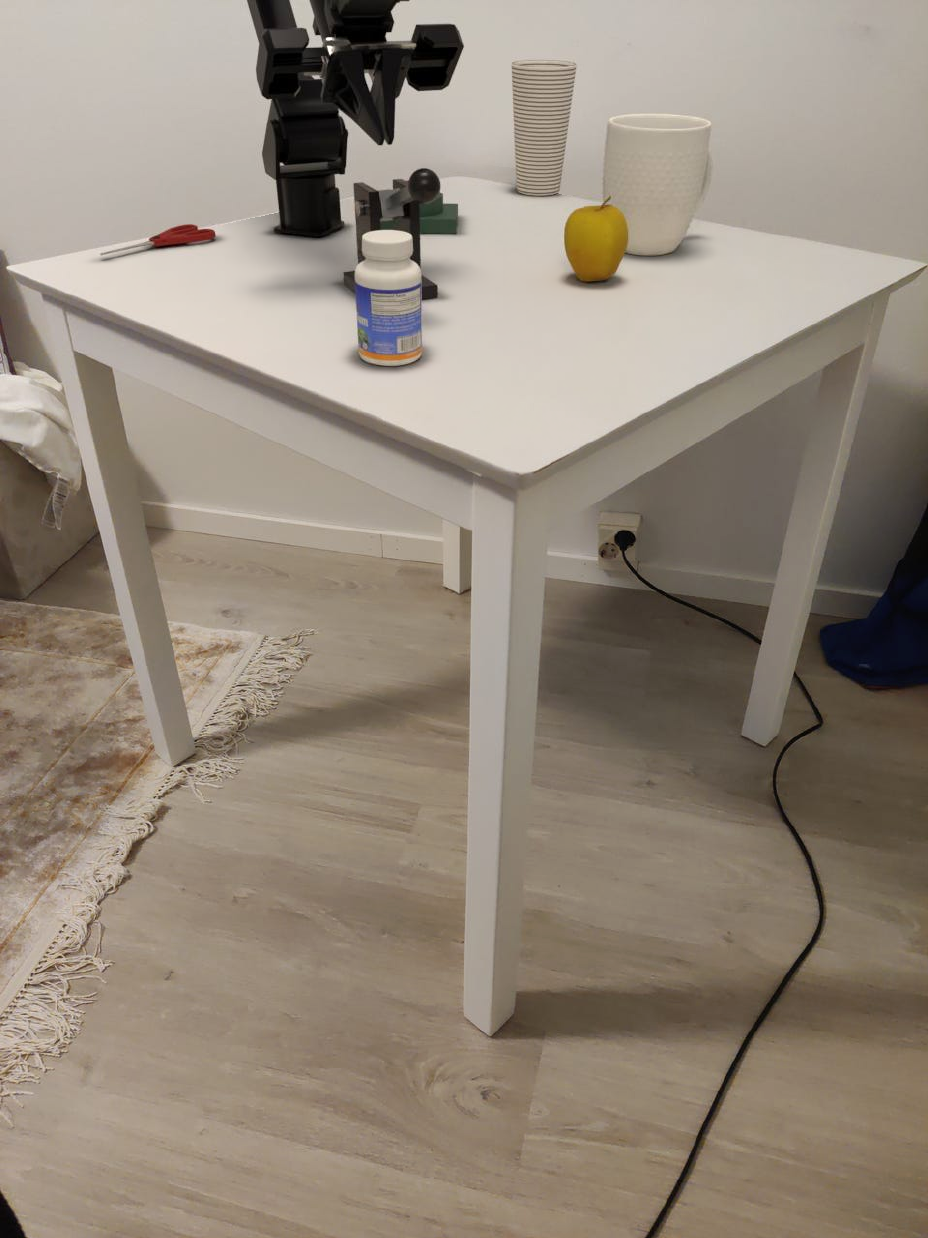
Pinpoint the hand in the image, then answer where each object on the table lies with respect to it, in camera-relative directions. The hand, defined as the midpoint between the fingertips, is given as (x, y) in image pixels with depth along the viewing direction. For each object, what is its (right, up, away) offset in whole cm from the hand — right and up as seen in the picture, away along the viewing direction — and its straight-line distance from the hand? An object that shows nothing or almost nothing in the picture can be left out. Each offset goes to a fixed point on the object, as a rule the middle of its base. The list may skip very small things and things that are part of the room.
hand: (386, 141), depth 87 cm
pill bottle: (+1, -21, -6) cm, 22 cm away
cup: (+17, +16, +46) cm, 52 cm away
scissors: (-28, -1, +21) cm, 35 cm away
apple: (+20, -8, +12) cm, 25 cm away
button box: (+1, +5, +30) cm, 31 cm away
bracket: (0, -11, +9) cm, 14 cm away
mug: (+29, -1, +23) cm, 36 cm away
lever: (+2, -6, 0) cm, 7 cm away
